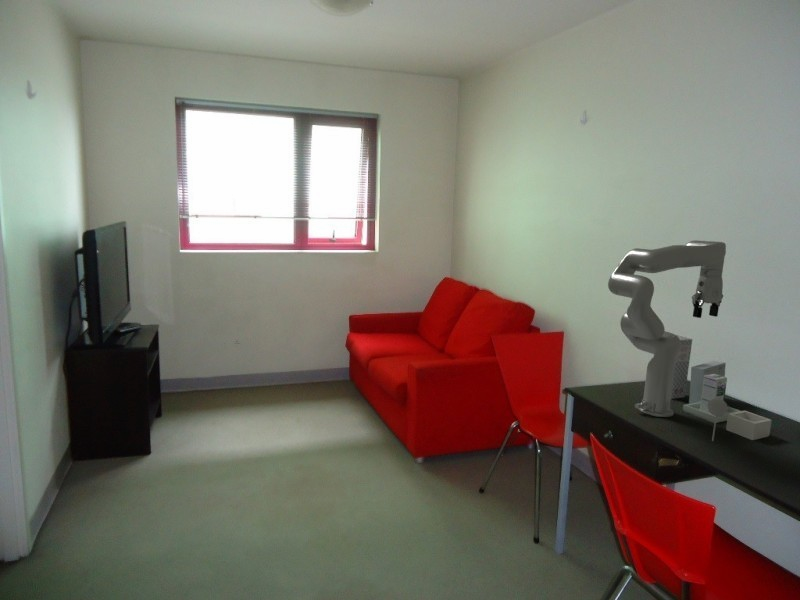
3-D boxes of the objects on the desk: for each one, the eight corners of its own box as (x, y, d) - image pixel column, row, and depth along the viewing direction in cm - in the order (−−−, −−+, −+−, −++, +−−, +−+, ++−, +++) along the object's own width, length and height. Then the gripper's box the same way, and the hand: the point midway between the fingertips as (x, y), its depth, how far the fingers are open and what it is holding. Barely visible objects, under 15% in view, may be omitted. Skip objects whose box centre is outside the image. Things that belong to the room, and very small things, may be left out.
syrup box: (713, 415, 208) (718, 379, 206) (698, 410, 213) (703, 374, 211) (722, 413, 211) (728, 377, 208) (708, 408, 216) (713, 373, 213)
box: (670, 399, 228) (677, 340, 224) (653, 392, 235) (660, 335, 231) (684, 396, 231) (692, 339, 227) (667, 390, 239) (674, 334, 235)
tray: (713, 423, 203) (714, 416, 203) (682, 410, 214) (683, 404, 214) (741, 417, 210) (742, 411, 210) (709, 405, 221) (710, 399, 221)
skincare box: (702, 408, 218) (703, 368, 217) (688, 405, 222) (689, 366, 221) (725, 399, 231) (726, 361, 230) (711, 397, 235) (712, 360, 234)
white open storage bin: (752, 440, 189) (755, 423, 188) (725, 429, 197) (728, 413, 196) (769, 436, 193) (771, 419, 192) (742, 426, 201) (744, 410, 200)
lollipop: (722, 446, 183) (728, 403, 180) (702, 441, 186) (708, 399, 183) (722, 440, 188) (729, 398, 185) (703, 435, 191) (709, 394, 188)
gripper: (705, 275, 206) (699, 319, 209) (734, 274, 214) (728, 317, 217) (687, 272, 213) (681, 315, 216) (716, 271, 220) (710, 313, 223)
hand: (705, 316), depth 216 cm, fingers open, 9 cm apart
